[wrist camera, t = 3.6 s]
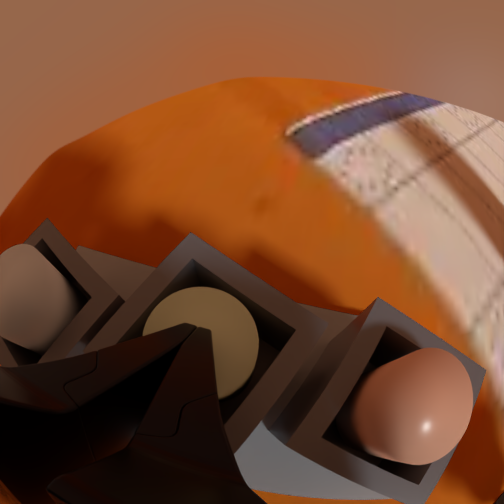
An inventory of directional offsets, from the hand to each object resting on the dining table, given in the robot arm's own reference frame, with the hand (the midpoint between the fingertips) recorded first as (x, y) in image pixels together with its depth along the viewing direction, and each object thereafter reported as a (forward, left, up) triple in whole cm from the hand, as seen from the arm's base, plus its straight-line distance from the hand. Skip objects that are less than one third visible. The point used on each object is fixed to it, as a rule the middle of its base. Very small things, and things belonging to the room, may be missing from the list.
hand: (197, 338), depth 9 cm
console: (-1, 0, -9) cm, 9 cm away
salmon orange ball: (+2, -7, -3) cm, 8 cm away
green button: (0, 0, -4) cm, 4 cm away
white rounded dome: (-4, +6, -3) cm, 8 cm away
